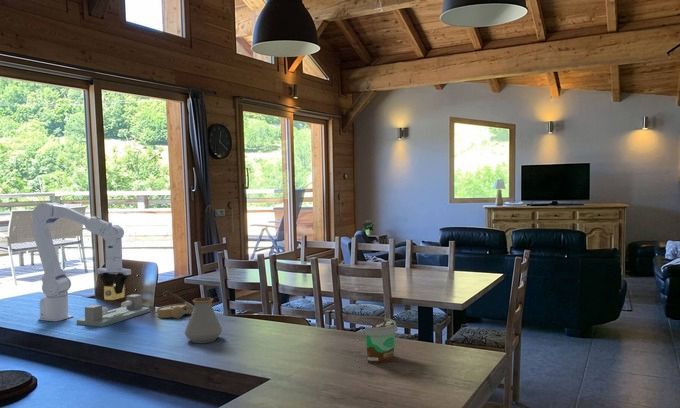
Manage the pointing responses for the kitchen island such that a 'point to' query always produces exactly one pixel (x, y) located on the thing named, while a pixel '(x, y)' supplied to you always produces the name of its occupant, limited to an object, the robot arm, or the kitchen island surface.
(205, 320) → the coffee pot
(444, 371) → the kitchen island surface
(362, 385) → the kitchen island surface
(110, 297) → the block
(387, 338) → the food container
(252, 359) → the kitchen island surface
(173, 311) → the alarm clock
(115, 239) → the robot arm
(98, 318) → the long grey base plate
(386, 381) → the kitchen island surface
